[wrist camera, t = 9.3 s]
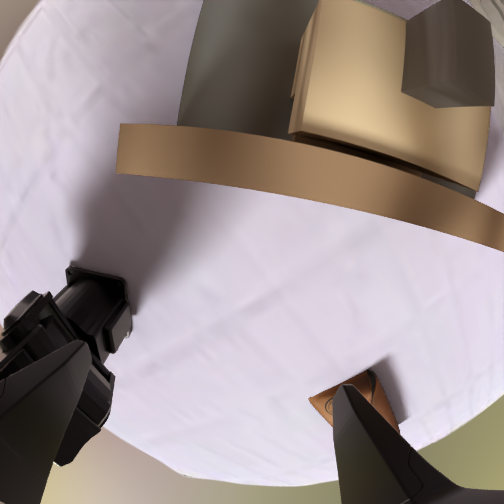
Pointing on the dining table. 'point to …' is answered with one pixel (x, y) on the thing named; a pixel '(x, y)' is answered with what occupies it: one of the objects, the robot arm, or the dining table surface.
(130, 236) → the dining table surface
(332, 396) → the sunglasses case
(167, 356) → the dining table surface
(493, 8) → the french press
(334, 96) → the wooden block
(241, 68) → the wall board
